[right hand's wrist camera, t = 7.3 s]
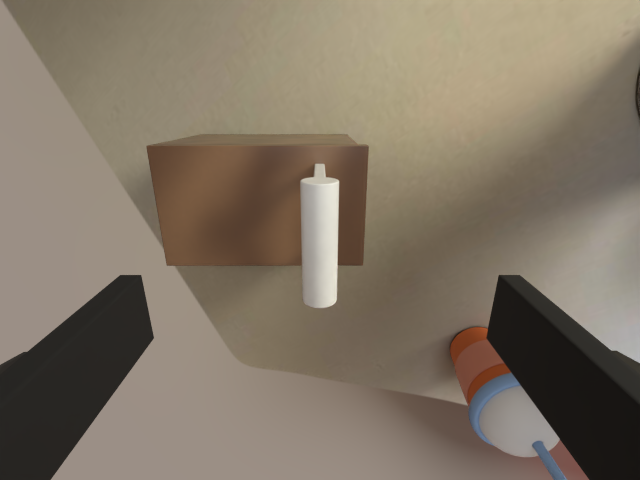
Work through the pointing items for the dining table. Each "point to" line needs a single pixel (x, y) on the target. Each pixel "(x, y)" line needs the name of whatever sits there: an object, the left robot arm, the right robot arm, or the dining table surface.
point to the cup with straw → (500, 401)
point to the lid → (264, 208)
